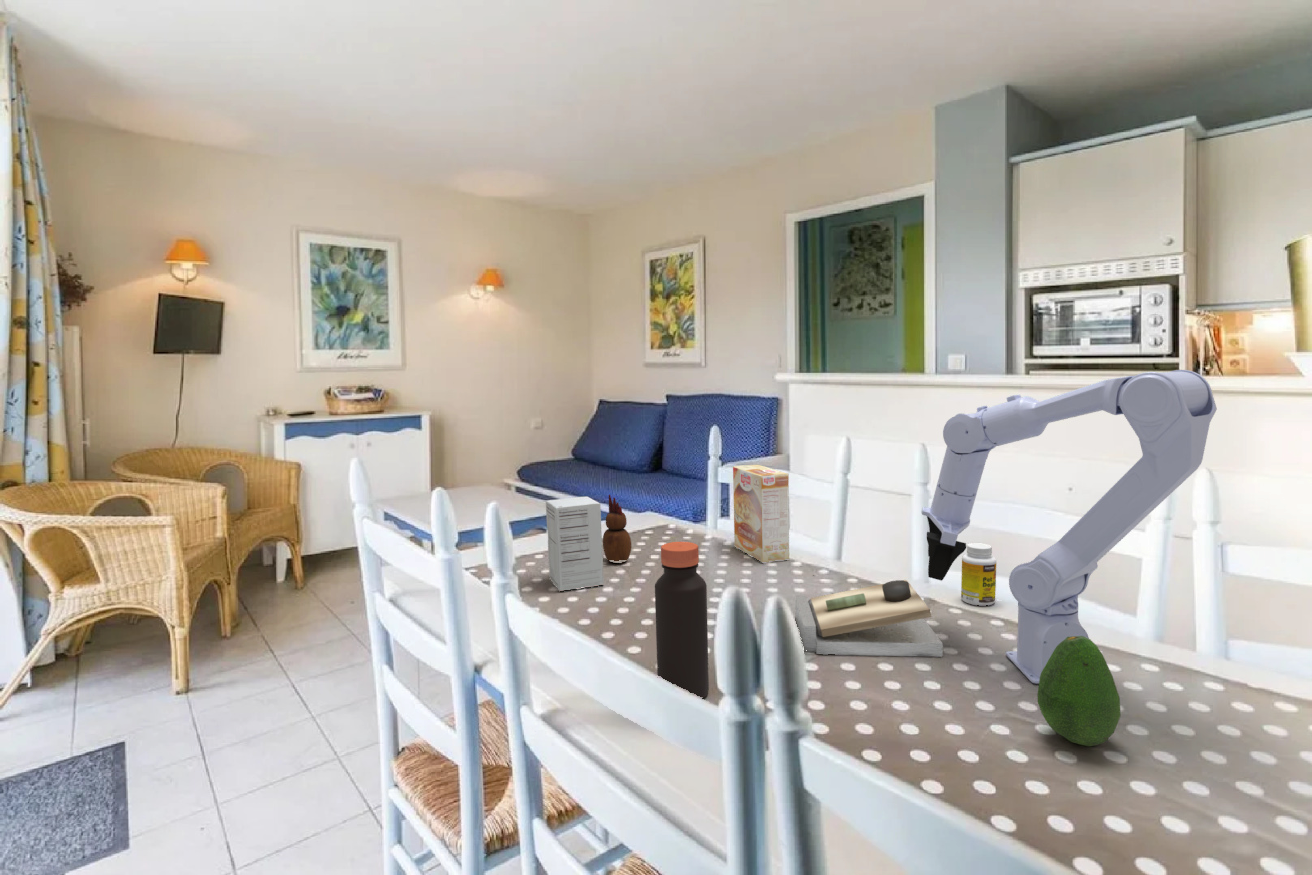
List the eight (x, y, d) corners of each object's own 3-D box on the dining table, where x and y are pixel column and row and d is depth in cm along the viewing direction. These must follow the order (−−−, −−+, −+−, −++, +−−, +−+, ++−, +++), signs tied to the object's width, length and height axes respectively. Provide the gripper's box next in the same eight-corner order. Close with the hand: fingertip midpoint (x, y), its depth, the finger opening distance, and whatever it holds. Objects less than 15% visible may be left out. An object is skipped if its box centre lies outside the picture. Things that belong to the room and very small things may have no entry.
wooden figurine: (600, 560, 157) (597, 494, 155) (623, 556, 159) (621, 492, 157) (610, 567, 150) (608, 499, 149) (635, 563, 153) (633, 496, 151)
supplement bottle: (983, 609, 119) (985, 551, 118) (954, 600, 124) (955, 544, 123) (1002, 602, 123) (1003, 546, 121) (972, 594, 127) (973, 539, 126)
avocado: (1088, 721, 82) (1092, 623, 81) (1135, 758, 75) (1140, 651, 73) (1021, 723, 82) (1024, 626, 81) (1061, 761, 74) (1065, 654, 73)
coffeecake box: (733, 547, 164) (731, 465, 162) (760, 544, 166) (759, 463, 164) (761, 564, 150) (760, 475, 148) (790, 560, 152) (789, 472, 150)
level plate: (931, 616, 102) (927, 596, 101) (818, 637, 104) (814, 617, 104) (907, 586, 115) (903, 568, 115) (808, 605, 118) (804, 587, 117)
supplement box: (605, 586, 138) (601, 503, 136) (559, 593, 134) (555, 507, 133) (591, 573, 147) (588, 495, 145) (548, 579, 143) (544, 499, 142)
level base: (942, 656, 101) (942, 630, 101) (804, 654, 103) (804, 628, 103) (914, 616, 117) (914, 593, 116) (794, 615, 119) (794, 592, 119)
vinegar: (666, 708, 88) (661, 555, 86) (652, 685, 95) (647, 542, 93) (716, 700, 90) (713, 550, 88) (699, 678, 96) (695, 537, 94)
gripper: (929, 468, 114) (909, 542, 118) (929, 498, 101) (907, 580, 105) (975, 478, 111) (953, 553, 116) (981, 510, 98) (957, 593, 103)
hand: (935, 567), depth 110 cm, fingers open, 7 cm apart
